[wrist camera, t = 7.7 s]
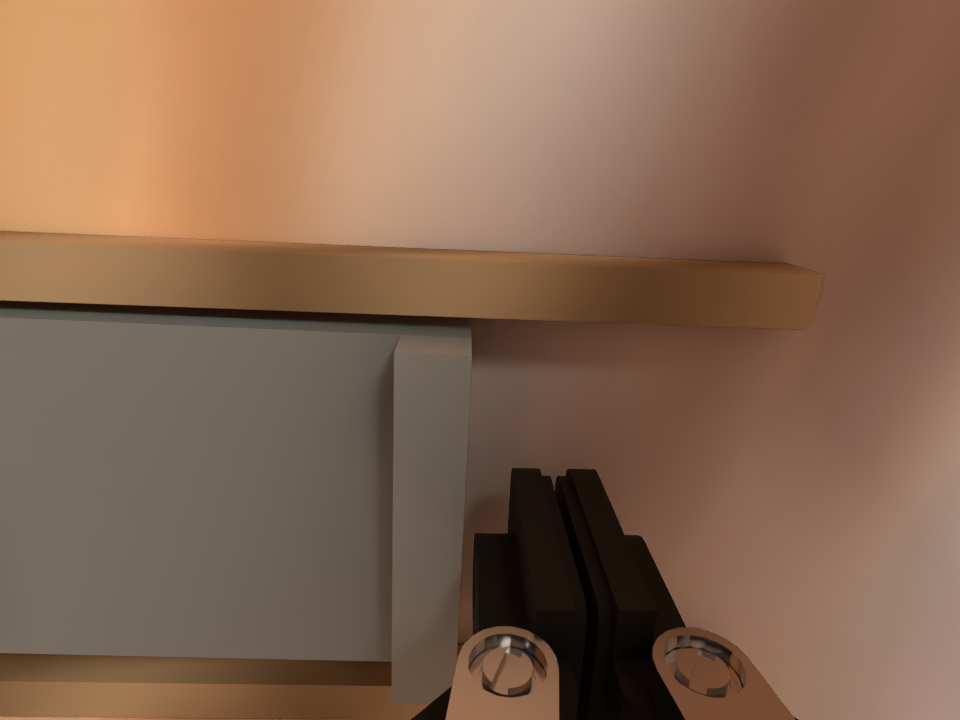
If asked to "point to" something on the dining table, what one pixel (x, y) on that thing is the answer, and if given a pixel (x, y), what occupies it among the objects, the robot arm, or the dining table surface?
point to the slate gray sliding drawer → (234, 485)
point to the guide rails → (340, 289)
